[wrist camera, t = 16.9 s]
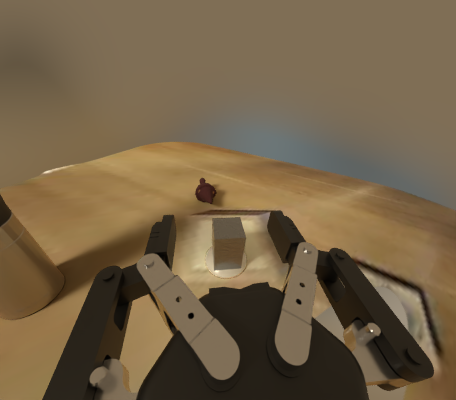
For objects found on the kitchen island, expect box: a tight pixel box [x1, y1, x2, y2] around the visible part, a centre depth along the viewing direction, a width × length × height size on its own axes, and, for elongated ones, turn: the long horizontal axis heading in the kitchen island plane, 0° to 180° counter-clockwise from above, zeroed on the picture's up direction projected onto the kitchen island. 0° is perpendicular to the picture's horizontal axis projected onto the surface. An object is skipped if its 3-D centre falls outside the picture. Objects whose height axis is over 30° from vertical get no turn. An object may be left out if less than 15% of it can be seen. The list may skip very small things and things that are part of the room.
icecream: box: [195, 178, 216, 204], centre depth 61 cm, size 7×7×15 cm
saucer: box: [205, 247, 247, 279], centre depth 42 cm, size 10×10×1 cm
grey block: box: [212, 217, 246, 271], centre depth 39 cm, size 6×6×10 cm
